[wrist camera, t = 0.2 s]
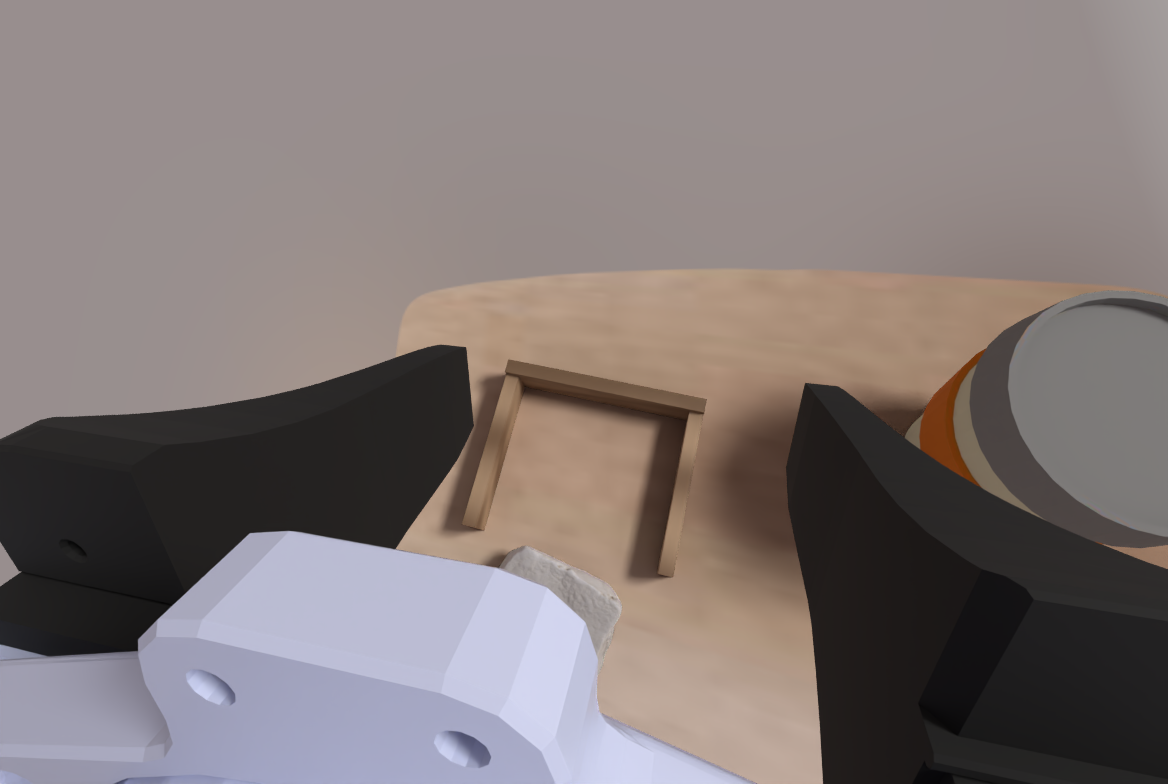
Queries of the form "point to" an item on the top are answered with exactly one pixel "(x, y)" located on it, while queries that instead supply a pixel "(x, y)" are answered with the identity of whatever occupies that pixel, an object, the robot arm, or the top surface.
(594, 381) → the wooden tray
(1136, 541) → the reusable coffee cup
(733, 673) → the top surface
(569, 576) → the white rough stone
